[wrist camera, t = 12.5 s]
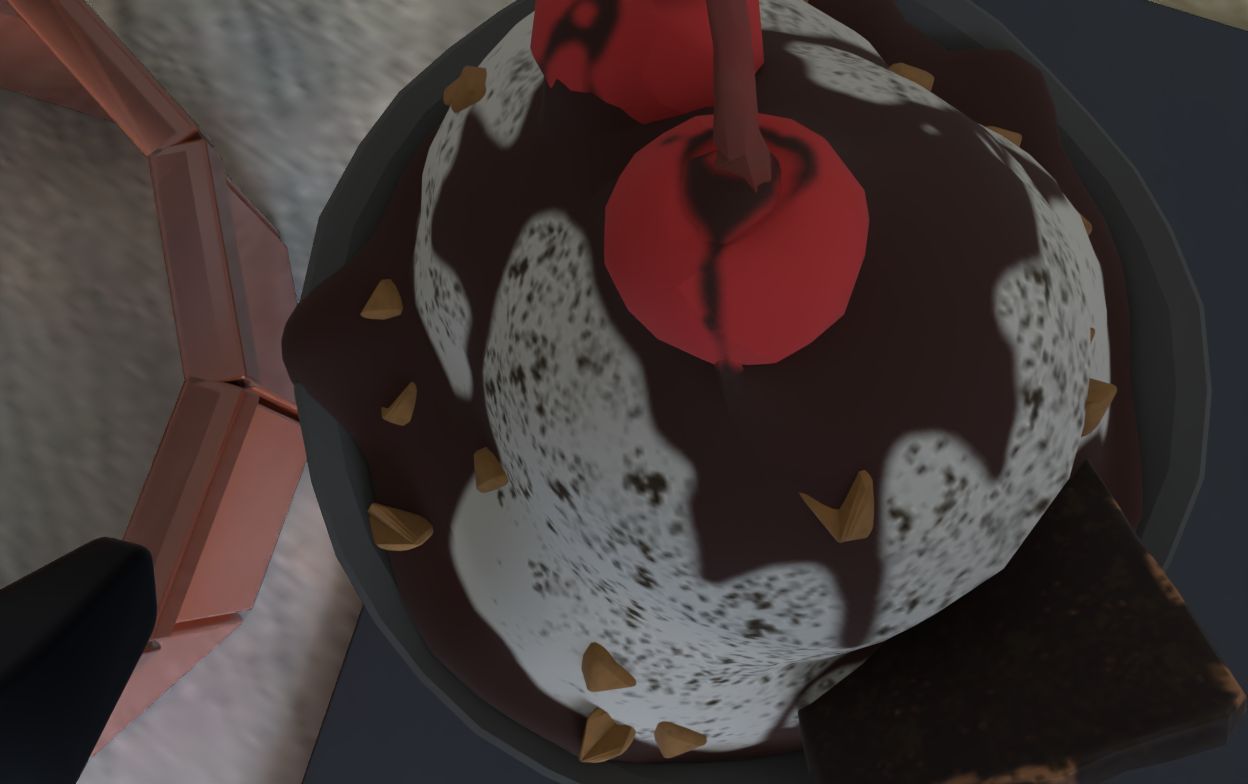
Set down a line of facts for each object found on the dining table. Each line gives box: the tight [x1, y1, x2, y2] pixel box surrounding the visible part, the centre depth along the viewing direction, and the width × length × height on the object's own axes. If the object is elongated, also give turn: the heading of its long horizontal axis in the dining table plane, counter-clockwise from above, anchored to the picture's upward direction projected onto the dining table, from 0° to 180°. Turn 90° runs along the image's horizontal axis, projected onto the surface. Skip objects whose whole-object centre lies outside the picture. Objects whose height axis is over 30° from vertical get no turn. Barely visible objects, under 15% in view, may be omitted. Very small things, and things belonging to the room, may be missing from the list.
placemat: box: [301, 0, 1248, 784], centre depth 18 cm, size 20×16×1 cm
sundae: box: [281, 0, 1246, 784], centre depth 10 cm, size 7×7×15 cm
